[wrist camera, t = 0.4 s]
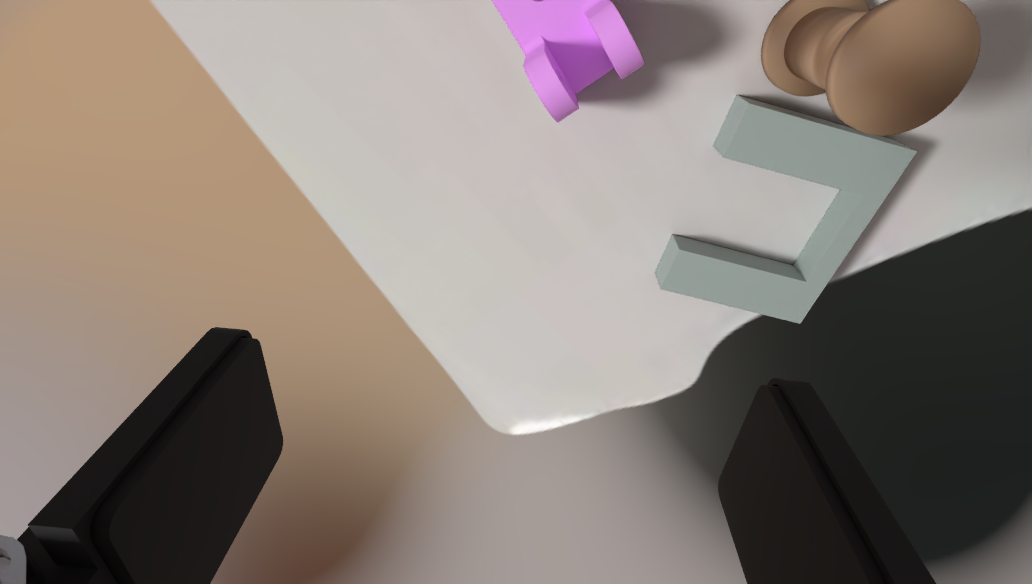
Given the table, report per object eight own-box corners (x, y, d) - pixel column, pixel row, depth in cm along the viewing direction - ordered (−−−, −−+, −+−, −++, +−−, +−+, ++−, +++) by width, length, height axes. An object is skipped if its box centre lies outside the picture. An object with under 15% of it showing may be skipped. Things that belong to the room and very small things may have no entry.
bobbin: (792, -27, 30) (886, -24, 22) (885, 2, 31) (1012, 16, 22) (743, 79, 34) (809, 117, 25) (828, 103, 34) (921, 149, 26)
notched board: (736, 94, 34) (749, 103, 32) (895, 140, 35) (917, 151, 33) (654, 272, 41) (660, 289, 39) (787, 305, 42) (800, 323, 40)
